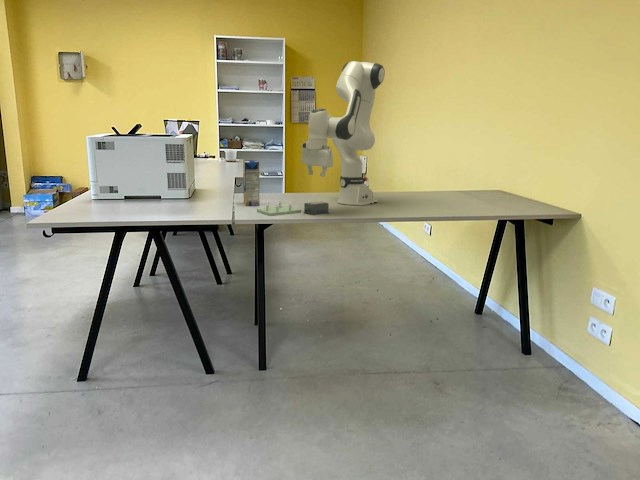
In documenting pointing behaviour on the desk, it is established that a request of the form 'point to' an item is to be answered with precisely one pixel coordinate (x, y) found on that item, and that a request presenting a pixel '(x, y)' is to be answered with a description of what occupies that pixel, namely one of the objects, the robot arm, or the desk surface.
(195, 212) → the desk surface
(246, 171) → the beverage box
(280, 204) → the green peg board
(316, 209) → the block
